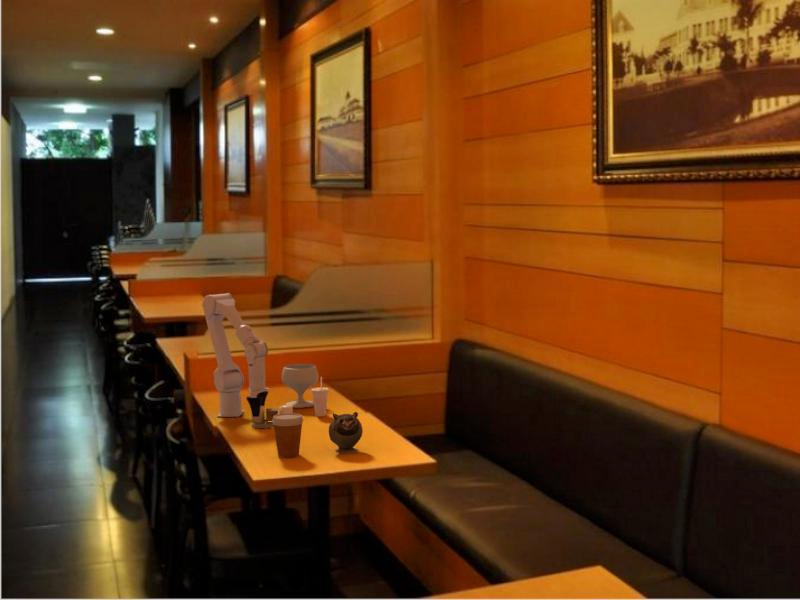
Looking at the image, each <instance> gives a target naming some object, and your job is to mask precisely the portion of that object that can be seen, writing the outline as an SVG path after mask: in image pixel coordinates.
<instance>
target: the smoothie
mask: <svg viewBox="0 0 800 600" xmlns="http://www.w3.org/2000/svg"><path fill="white" fill-rule="evenodd" d="M319 378H320V387H313V388H310V393H311V394H312V395H311V396H312V401H313V403H314V406H313V408H314V409H313V410H314V415H316V416H315V417H317V416H323V417H326V416H327V406H328V398H329V397H328V396H329V395H328V394H329V392H330V389H329V388H328V387H323V376H320V377H319ZM325 415H326V416H325Z"/></svg>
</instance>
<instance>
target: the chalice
mask: <svg viewBox="0 0 800 600" xmlns="http://www.w3.org/2000/svg"><path fill="white" fill-rule="evenodd" d="M281 371H282V372H281V382H282V384H283V385H284V386H286V387H288V388H289V389H290V390H293V391H294V392H295V393H296V394H297V396H298V397H297V399H296V400H293V401H289V402H286V403H285V404H284V405H291V406H293V409H298V408H299V409H301V408H302V409H303V408H305V407H306V408H311V407H314V403H313V400H312V401H311V400H305V399H304V394H305V392H306V391H307V390H309V389H311V387H313V386H315V385H316V384H317V383H318V381H319V378H320V377H319V376H320V375H319V371H318V368H317V366H316V365H314V364H312V363H293V364H287V365H285V366H284V367H283V369H282V370H281Z"/></svg>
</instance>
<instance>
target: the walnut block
mask: <svg viewBox="0 0 800 600" xmlns="http://www.w3.org/2000/svg"><path fill="white" fill-rule="evenodd" d="M278 409H279V408H277V407H276V408H265V415H266V416H265V420H266V421H272V420H273V416H274V415H277V414H279V413H278V412H279V410H278ZM266 421H265V422H266Z"/></svg>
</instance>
